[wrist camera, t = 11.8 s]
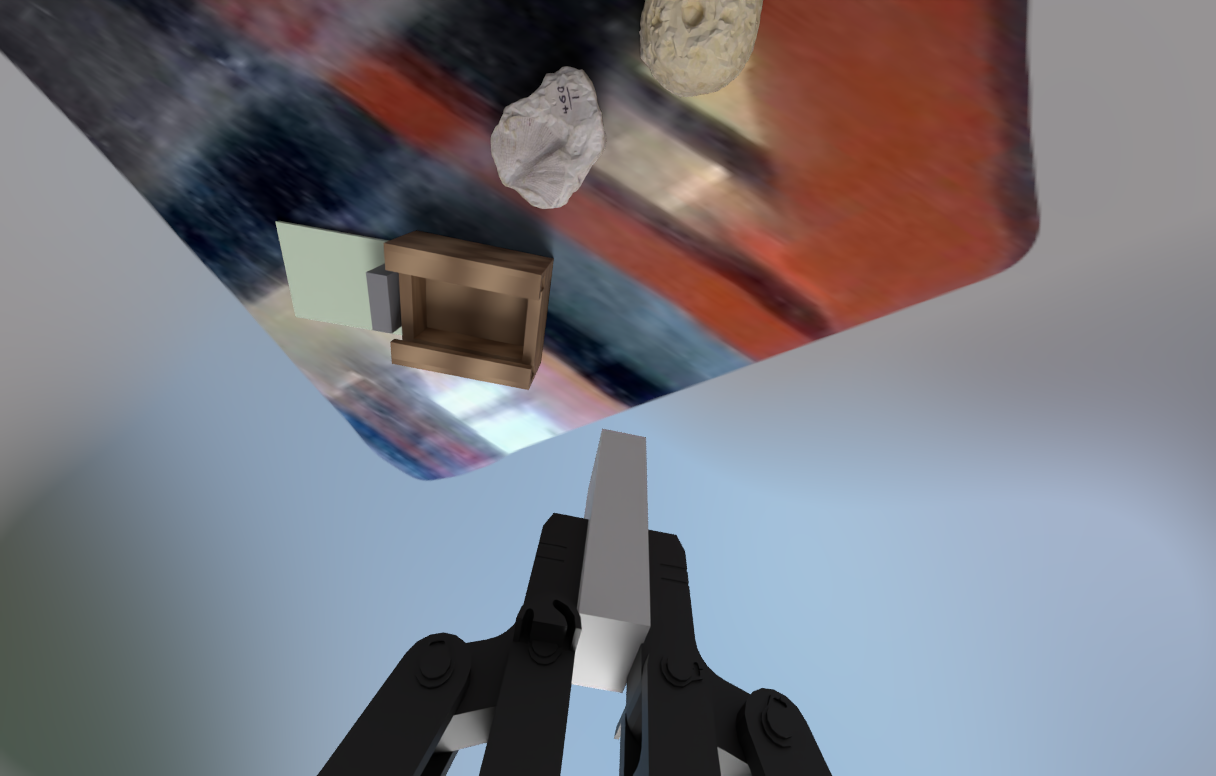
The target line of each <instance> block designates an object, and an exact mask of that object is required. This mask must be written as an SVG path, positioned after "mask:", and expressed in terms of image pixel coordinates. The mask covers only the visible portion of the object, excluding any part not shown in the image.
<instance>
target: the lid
mask: <svg viewBox="0 0 1216 776" xmlns="http://www.w3.org/2000/svg"><path fill="white" fill-rule="evenodd" d="M276 226H277V231H278V235H279V240H280V245H281V250H282V254H283V259H284V264H285V269H286V273H287V278H288V283H289V288H290V292H291V297H292V302H293V307H294V311H295V316H296V317H299V318H305V319H311V320H316V321H322V322H328V323H334V324H339V325H345V326H351V327H356V328H362V329H368V330H374V331H379V332H385V333H391V334H397V335H402V323H401V305H400V286H399V273H398V272H393V271H388V270H385V258H384V244H383V243H385V242H387V241H389V240H383V239H377V238H372V237H366V236H361V235H355V234H350V233H344V232H339V231H333V230H328V229H322V228H317V227H311V226H305V225H300V224H294V223H289V222H283V221H276Z"/></svg>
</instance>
